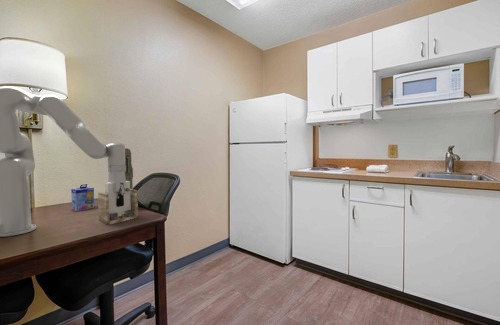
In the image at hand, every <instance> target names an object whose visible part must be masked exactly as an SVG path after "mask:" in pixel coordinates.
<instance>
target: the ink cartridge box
mask: <svg viewBox="0 0 500 325" xmlns="http://www.w3.org/2000/svg"><path fill="white" fill-rule="evenodd" d="M70 191H71V210H72V211H75V212H80V211H85V210H90V209H94V208H95V188H94V187H91V186H88V184H87V183H84V184H80V186H79V187H76V188H71V189H70Z"/></svg>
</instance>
